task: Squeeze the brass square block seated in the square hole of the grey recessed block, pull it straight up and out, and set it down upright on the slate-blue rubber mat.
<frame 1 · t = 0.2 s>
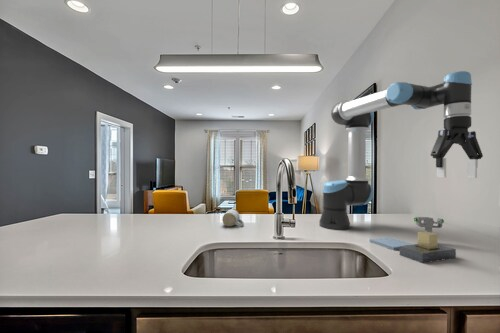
hand: (456, 177, 88), 27 cm above the worktop, tool pointing down, fingers open, 13 cm apart
blue mat: (391, 244, 99), on the worktop
grey recessed block: (427, 256, 86), on the worktop
mechanical component: (428, 242, 103), on the worktop
ceramic mug: (233, 225, 127), on the worktop
brass block: (427, 244, 86), in the grey recessed block
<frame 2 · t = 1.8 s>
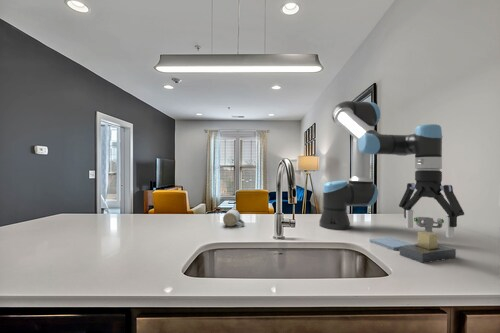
hand: (428, 232, 85), 8 cm above the worktop, tool pointing down, fingers open, 13 cm apart
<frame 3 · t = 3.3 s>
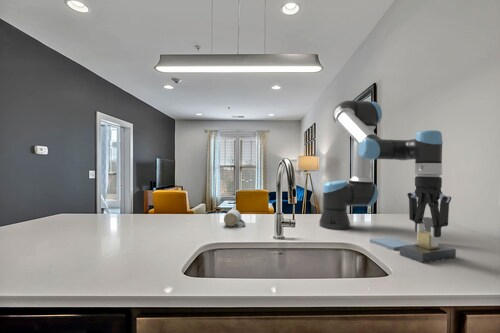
hand: (427, 244, 86), 4 cm above the worktop, tool pointing down, fingers closed on brass block, 4 cm apart
brass block: (427, 244, 86), in the grey recessed block, touching gripper
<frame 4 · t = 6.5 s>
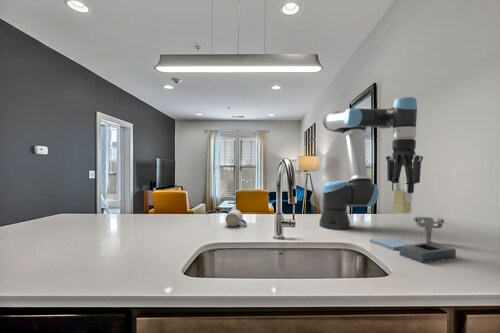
hand: (402, 200, 95), 18 cm above the worktop, tool pointing down, fingers closed on brass block, 4 cm apart
brass block: (402, 201, 95), point 18 cm above the worktop, touching gripper
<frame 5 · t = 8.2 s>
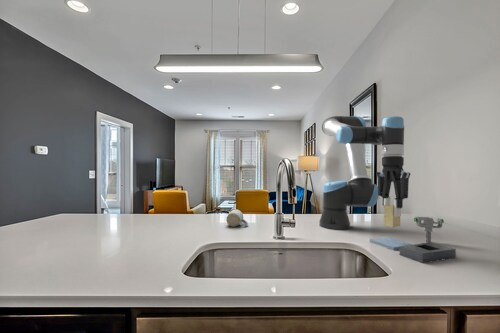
hand: (392, 215, 99), 12 cm above the worktop, tool pointing down, fingers closed on brass block, 4 cm apart
brass block: (392, 215, 99), point 11 cm above the worktop, touching gripper
when the fingers open (7 cm above the worktop, at t = 9.7 s): brass block drops 1 cm, resting on blue mat.
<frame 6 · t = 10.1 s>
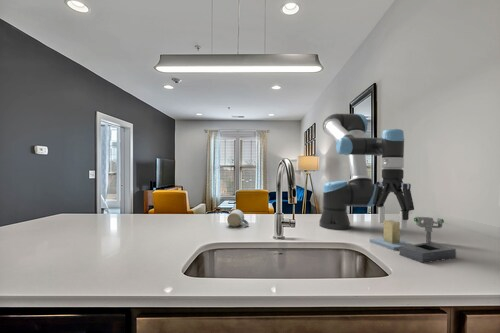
hand: (391, 225, 99), 8 cm above the worktop, tool pointing down, fingers open, 9 cm apart
brass block: (391, 231, 99), on the blue mat, point 5 cm above the worktop
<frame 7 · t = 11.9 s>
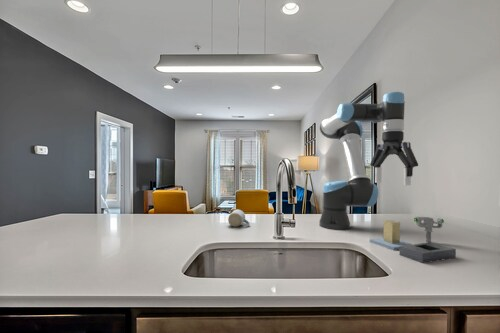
hand: (391, 183, 101), 24 cm above the worktop, tool pointing down, fingers open, 13 cm apart
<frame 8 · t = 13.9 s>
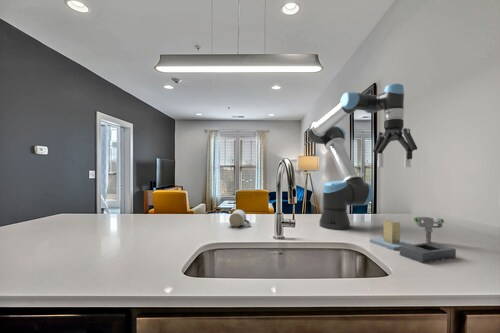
hand: (393, 167, 111), 31 cm above the worktop, tool pointing down, fingers open, 13 cm apart
at the end: brass block inside the target area on the blue mat (0.0 cm from its centre), point 5.0 cm above the blue mat's base; brass block tilted 0°; the gripper is holding nothing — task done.
